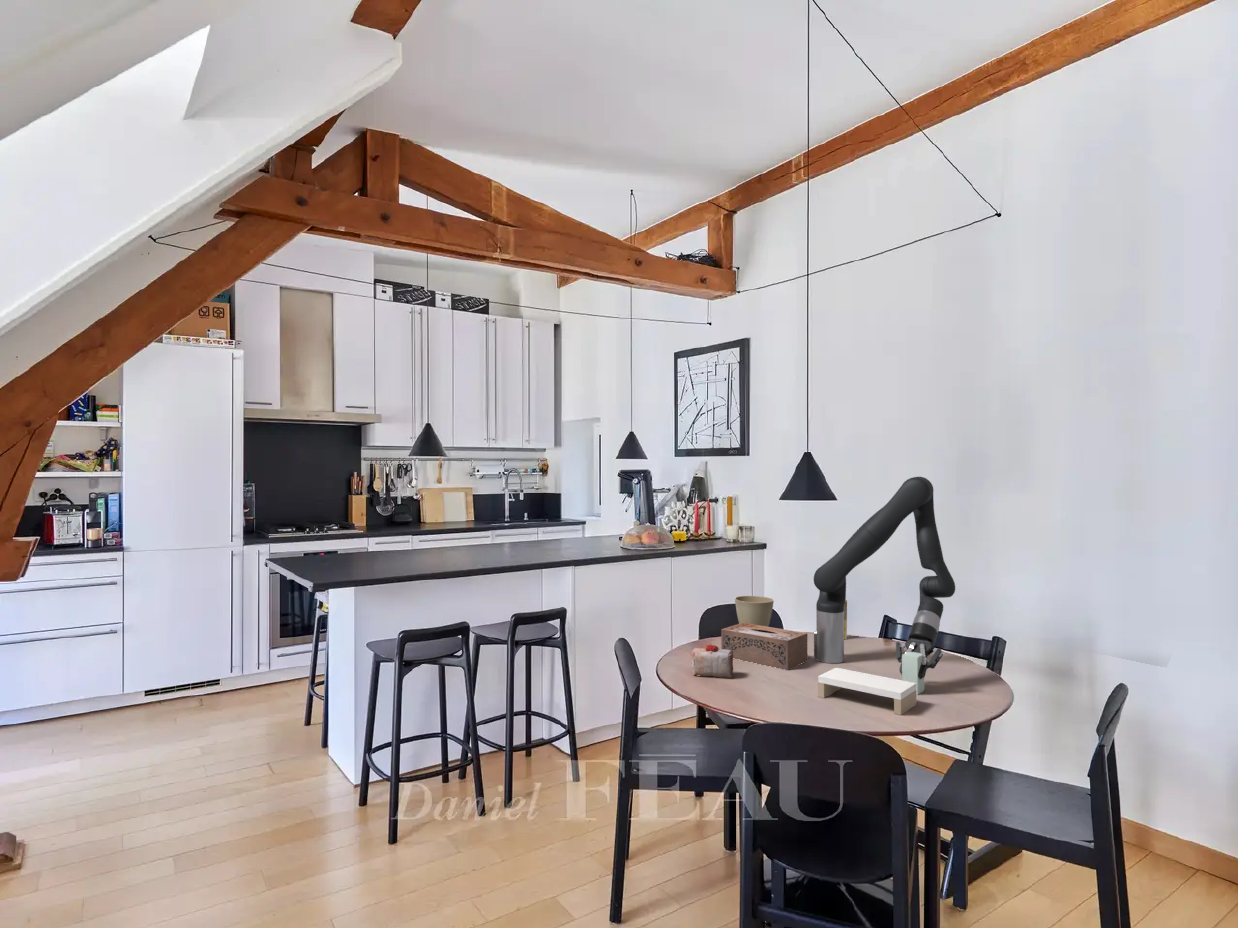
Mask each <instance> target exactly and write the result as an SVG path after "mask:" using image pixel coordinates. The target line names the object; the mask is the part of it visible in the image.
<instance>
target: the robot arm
mask: <svg viewBox="0 0 1238 928" xmlns="http://www.w3.org/2000/svg"><path fill="white" fill-rule="evenodd" d="M934 500H935V499H934V486H933V484H932V482H931V481H930V480H929V479H928V478H927V477H923V476H913V477H910V478H908V479H905V480H904V482H903V483H902V484H901V486H900V487H899V488H898V489H897V491H896V492H895V494H893V496H892V497H891V498H890V499H889V500H888V501H887V503H886V504H885V505H884V506H883V507H881V508H880V509H879V510H877V511H876V512H875V513H874V514H873V515H872V516H870V517H869V518H868V519H867V520H866V521H865V522H863V524H862V525H861V526H860V527H859V528H858V529H856V531H855V532H854V533H853V534H852V535H851V536H850V537H849V539H848V540H847V541H846V542H845V543H844V545H843V546H842V547H841V548H840V549H839V550H838V551H837V552H836V554H834V555H833V556H832V557H831V558H830V559H828V560H827V561H826V562H824V563H823V564H822V565H821V566H820V567H818V568H817V569H816V570H815V572H814V576H813V585H814V586H815V588H816V589H817V590H818V591H819V595H818V598H817V601H816V607H815V608H816V611H815V612H816V616H815V617H816V626H815V627H816V630H815V631H814V632H813V660H816V661H819V662H821V663H826V664H827V663H829V664H839V663H844V661H845V639H844V604H845V600H847V576H848V575H849V573H851V571H853V569H854V568H856V567H857V566H859V565H860V564H862V563H863V562H864V561H866V560H867V559H869V558H870V557H871V556H872V555H874V554H875V553H876V552H877V551H878V550H879V549H881V548H882V547H883V546H884V545H885V544H886V543H887V542H888V541H889V540H890V539H891V537H892V536H893V535H894V533H895V532H896V531H897V529H898V527H900V525H901V523H902V522H903V521H904V520H905V519H906V518H907V517H909V516H910V515H911V514H912V513H913V517H914V523H915V533H916V535H915V536H916V537H915V538H916V547H917V552H918V557H919V562H920V566H921V567H922V569H924V570H928V571H929V570H930V571H933V572H934V573H935V575H927V576H924V577H923V578H921V579H920V582H919V587H918V588H919V604H918V607H917V610H916V611H917V612H916V614H915V616H914V619H913V621H912V625H911V628H910V631H909V634H908V639H907V640H906V641H905V642H900V641H896V643H895V653H896V654H895V656H896V660H897V662H898V663H900V665H899V669H898V670H899V671H898V672H899V673H900V675H901V676H902V655H903V652H904V650H905V649H906V651H905V652H904V654H905V653H907V652H916V653H921V654H923V656H922V665H921V666H920V669H919V673H918V677H919V679H922V678H924V679H925V678H926V677H925V676H926V674H927V670H928V669H935V668H936V666H937V665H938V663H939V662H940V660H941V658H943V656H944V654H943V651H942V649H941V648H936V647H935V643H936V641H937V636H938V633H939V631H940V625H941V619H942V615H943V612H944V604H943V602H941V600H939V599H937V598H940V599H941V598H942V599H943V598H944V599H945V598H951V597H953V596H954V594H955V592H956V583H955V580H954V578H953V576H952V575H951V573H950V570H949V568H948V567H947V565H946V562H945V559H944V555H943V550H942V545H941V541H940V538H939V537H940V535H939V533H938V528H937V522H936V515H935V504H934V503H935V501H934ZM931 654H933V655H932V656H931V658H930V659H929V660H928V657H929V656H930V655H931Z"/></svg>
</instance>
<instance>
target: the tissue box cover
mask: <svg viewBox="0 0 1238 928" xmlns="http://www.w3.org/2000/svg"><path fill="white" fill-rule="evenodd" d="M720 636H721V637H720V639H721V643H720V644H721V645H720V649H726V650H732V651H733V658H735V659H740V660H743V661H742V662H744V661H748V662H747V663H749V662H753V663H752V664H754V663H757V664H756V665H759V664H761V666H764V665H766V666H765V667H769V666H771V667H770V668H774V667H776V668H775V669H779V668H780V669H781V670H784V669H785V670H784V671H789V670H792V669H793V667H794V668H795V666H796V667H798V666H800V665H802V664H801V663H803V662H805V663H807V662H808V632H803V631H796V630H790V629H784V628H778V627H771V626H768V627H766V626H760V625H754V624H748V623H740V624H739V623H737V624H734V625H731V626H728V627H725V628H721V630H720ZM735 659H734V660H735ZM806 661H807V662H806ZM799 664H800V665H799ZM803 664H804V663H803ZM797 665H798V666H797ZM791 668H792V669H791Z"/></svg>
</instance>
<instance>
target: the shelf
mask: <svg viewBox="0 0 1238 928" xmlns="http://www.w3.org/2000/svg"><path fill="white" fill-rule="evenodd" d="M842 688H844V689H849V690H854V691H858V692H863V693H867V694H872V695H876V696H881V697H886V698H892V699H893V714H894V715H898V716H902V715H903V714H905V713H906V712H908V711H909V710H910V709H912V708H913V707H915V706H916V705H917V695H916V683H913V682H908V681H902V679H896V678H892V677H891V678H890V677H886V676H881V675H876V674H872V673H871V674H870V673H867V672H865V673H864V672H860V671H855V670H850V669H845V668H841V667H834V668H832V669H830V670H828V671H826V672H824V673H822V674H820V675H818V676H817V693H818V694H817V696H818V698H821V699H822V698H823V699H824V698H826V697H828V696H830V695H832V694H834V693H835V692H837V691H840V690H841V689H842Z"/></svg>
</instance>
